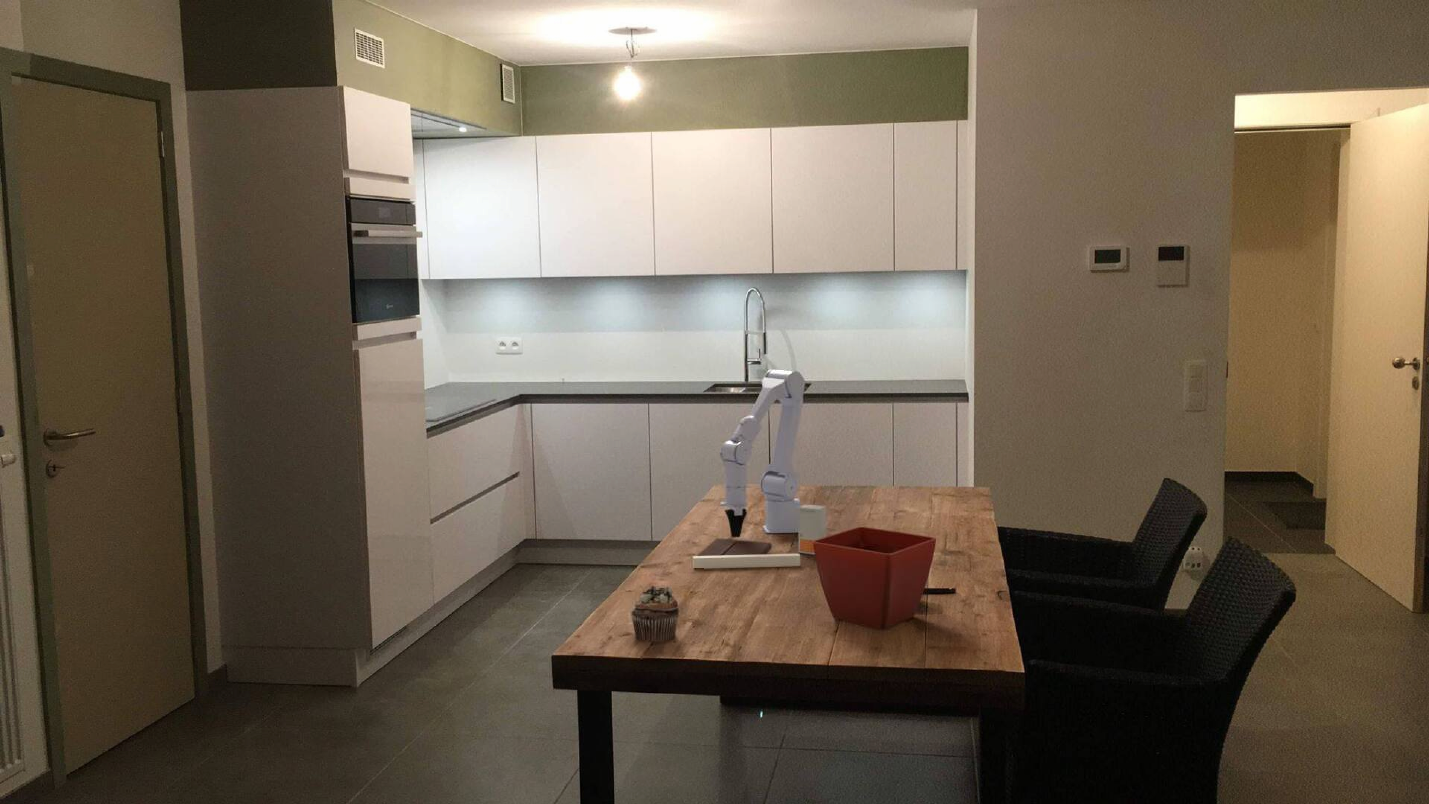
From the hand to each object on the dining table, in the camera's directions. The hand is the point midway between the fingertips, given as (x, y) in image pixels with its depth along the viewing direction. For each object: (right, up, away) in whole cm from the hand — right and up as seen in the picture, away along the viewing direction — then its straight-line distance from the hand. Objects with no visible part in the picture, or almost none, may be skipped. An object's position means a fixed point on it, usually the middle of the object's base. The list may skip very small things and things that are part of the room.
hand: (735, 536), depth 331 cm
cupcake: (-18, -11, -82) cm, 84 cm away
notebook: (-1, -4, -15) cm, 15 cm away
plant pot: (+28, -10, -70) cm, 76 cm away
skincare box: (+19, -3, -14) cm, 24 cm away
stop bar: (+2, -4, -27) cm, 28 cm away
